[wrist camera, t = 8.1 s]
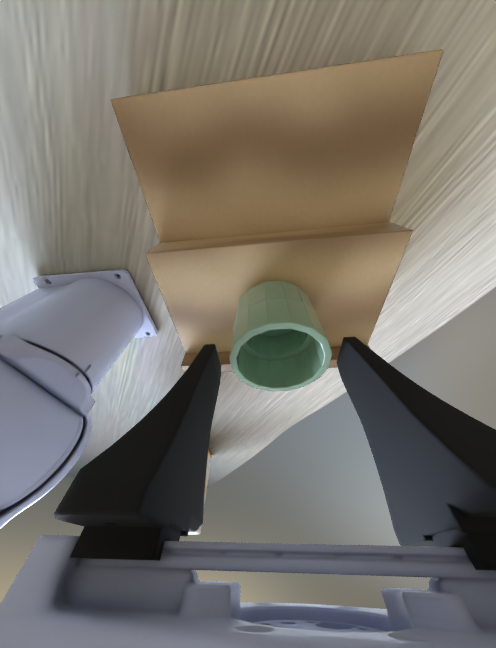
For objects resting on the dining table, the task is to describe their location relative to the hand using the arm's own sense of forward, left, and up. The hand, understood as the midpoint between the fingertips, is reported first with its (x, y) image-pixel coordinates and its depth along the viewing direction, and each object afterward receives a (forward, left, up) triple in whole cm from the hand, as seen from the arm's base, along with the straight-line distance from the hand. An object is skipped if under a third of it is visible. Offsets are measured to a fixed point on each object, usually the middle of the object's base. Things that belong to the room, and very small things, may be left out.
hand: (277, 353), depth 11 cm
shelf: (0, +4, -9) cm, 10 cm away
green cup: (0, 0, -4) cm, 4 cm away
